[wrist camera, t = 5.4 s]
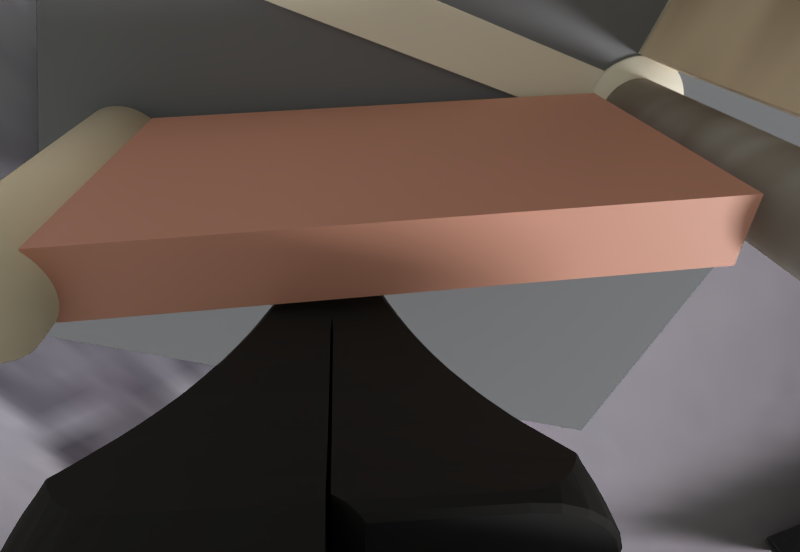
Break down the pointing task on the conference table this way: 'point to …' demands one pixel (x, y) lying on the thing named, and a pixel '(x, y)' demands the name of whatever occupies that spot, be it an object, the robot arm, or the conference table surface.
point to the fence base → (742, 74)
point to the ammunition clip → (785, 540)
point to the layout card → (384, 85)
